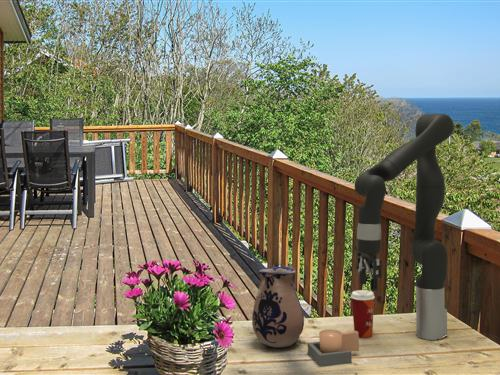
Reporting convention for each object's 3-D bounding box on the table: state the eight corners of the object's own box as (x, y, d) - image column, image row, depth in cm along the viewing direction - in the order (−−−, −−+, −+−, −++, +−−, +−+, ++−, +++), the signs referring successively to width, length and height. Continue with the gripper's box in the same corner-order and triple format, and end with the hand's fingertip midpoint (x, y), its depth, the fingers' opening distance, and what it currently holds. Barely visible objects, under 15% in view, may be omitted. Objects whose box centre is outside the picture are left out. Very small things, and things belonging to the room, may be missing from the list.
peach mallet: (353, 350, 190) (353, 326, 190) (362, 358, 183) (361, 333, 183) (316, 355, 187) (316, 330, 187) (324, 363, 181) (323, 338, 180)
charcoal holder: (337, 349, 191) (337, 339, 191) (351, 362, 180) (351, 351, 180) (307, 353, 189) (307, 342, 189) (320, 366, 178) (319, 355, 178)
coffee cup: (375, 339, 199) (375, 296, 198) (351, 338, 201) (350, 295, 200) (375, 331, 208) (374, 289, 206) (351, 330, 209) (350, 289, 208)
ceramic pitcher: (244, 349, 194) (242, 275, 192) (267, 329, 214) (265, 261, 212) (295, 355, 188) (293, 278, 186) (314, 334, 207) (312, 263, 205)
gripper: (390, 240, 182) (389, 292, 183) (370, 233, 196) (369, 281, 197) (367, 241, 180) (366, 293, 182) (349, 234, 194) (348, 282, 196)
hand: (368, 287), depth 189 cm, fingers open, 8 cm apart
